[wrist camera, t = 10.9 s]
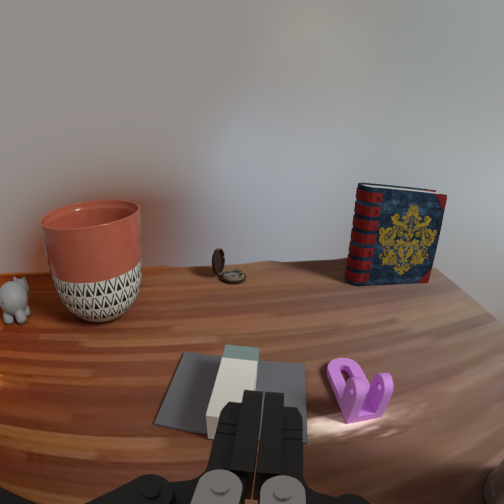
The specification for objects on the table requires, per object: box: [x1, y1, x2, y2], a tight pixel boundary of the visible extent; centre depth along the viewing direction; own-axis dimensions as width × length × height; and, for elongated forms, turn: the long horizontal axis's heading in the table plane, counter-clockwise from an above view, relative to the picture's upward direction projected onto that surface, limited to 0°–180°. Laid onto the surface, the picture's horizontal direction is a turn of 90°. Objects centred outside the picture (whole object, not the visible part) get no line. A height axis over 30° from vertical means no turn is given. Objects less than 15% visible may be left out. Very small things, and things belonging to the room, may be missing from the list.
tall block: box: [206, 345, 259, 439], centre depth 41 cm, size 5×5×14 cm
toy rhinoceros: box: [0, 276, 30, 324], centre depth 55 cm, size 7×12×8 cm, turn 12°
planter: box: [40, 200, 142, 322], centre depth 57 cm, size 20×20×21 cm
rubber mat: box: [154, 352, 307, 444], centre depth 43 cm, size 20×16×1 cm
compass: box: [212, 249, 246, 284], centre depth 78 cm, size 8×8×7 cm
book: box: [345, 183, 447, 286], centre depth 76 cm, size 25×7×25 cm, turn 95°
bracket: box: [326, 358, 393, 424], centre depth 43 cm, size 13×6×7 cm, turn 6°
